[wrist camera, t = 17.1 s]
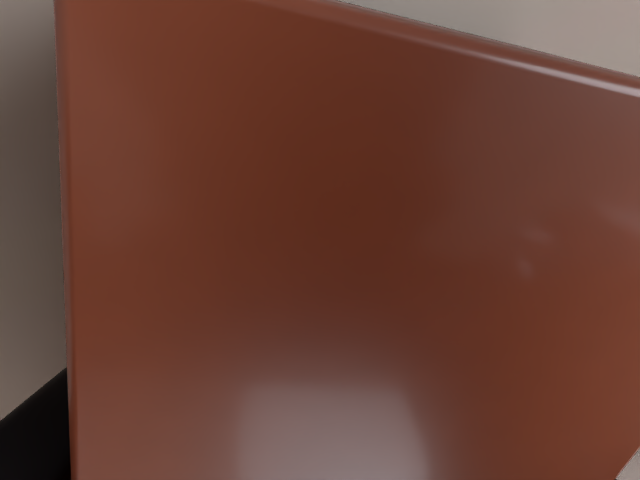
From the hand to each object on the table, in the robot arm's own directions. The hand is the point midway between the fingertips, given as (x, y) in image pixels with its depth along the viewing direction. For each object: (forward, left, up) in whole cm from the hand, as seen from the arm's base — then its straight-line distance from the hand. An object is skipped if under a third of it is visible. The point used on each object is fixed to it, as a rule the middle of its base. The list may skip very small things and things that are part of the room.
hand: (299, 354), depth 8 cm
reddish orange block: (0, 0, -1) cm, 1 cm away
